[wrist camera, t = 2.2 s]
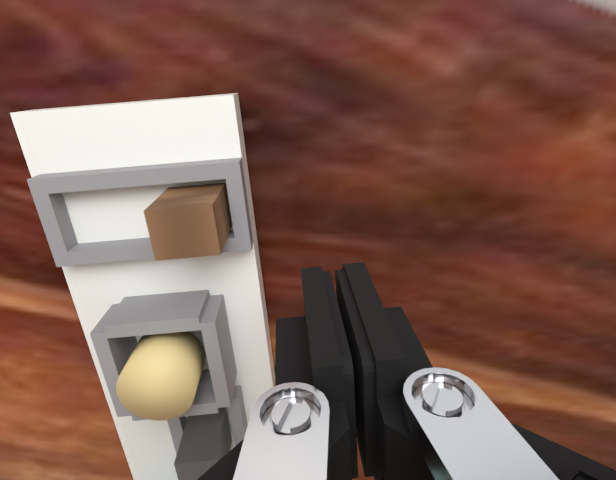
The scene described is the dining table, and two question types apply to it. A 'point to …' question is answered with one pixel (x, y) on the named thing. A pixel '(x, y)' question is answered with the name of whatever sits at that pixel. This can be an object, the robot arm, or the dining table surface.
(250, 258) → the board
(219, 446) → the grey rectangular block
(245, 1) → the dining table surface
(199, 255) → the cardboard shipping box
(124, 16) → the dining table surface
